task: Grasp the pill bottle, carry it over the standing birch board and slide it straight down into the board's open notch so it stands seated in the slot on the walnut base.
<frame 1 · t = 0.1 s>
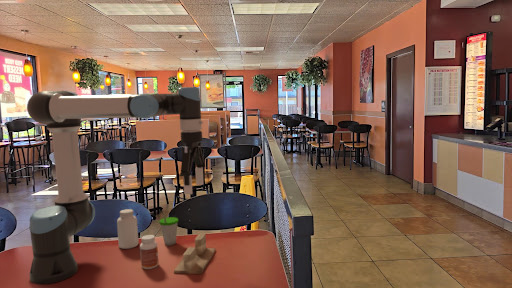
hand: (194, 189, 141), 28 cm above the table, fingers open, 13 cm apart
pill bottle: (150, 266, 143), on the table
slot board: (196, 261, 145), on the table
pill bottle 2: (128, 245, 163), on the table
cup: (170, 244, 163), on the table
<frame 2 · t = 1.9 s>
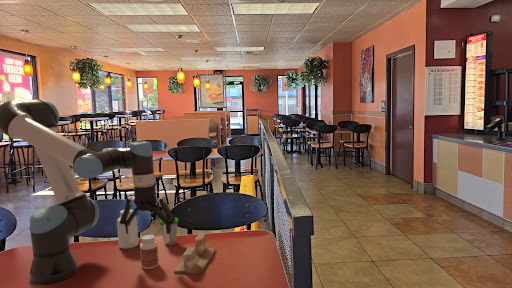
hand: (149, 242, 141), 9 cm above the table, fingers open, 13 cm apart
nothing on the table moved.
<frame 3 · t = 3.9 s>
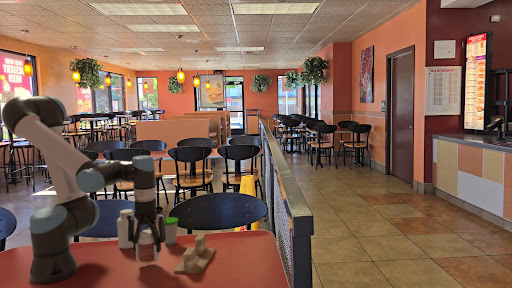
hand: (147, 259, 142), 2 cm above the table, fingers closed on pill bottle, 6 cm apart
pill bottle: (147, 261, 143), point 2 cm above the table, touching gripper
everything else where it was.
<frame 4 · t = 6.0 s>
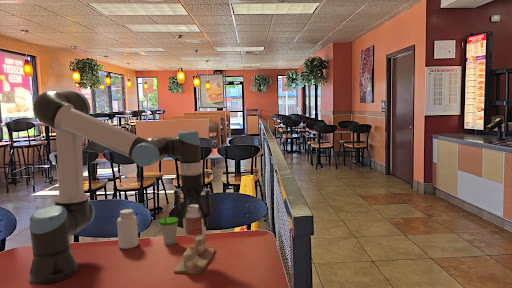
hand: (195, 234, 144), 11 cm above the table, fingers closed on pill bottle, 6 cm apart
pill bottle: (195, 235, 144), point 10 cm above the table, touching gripper
everything else where it was.
when the fingers open (2 cm above the table, at t = 7.9 s): pill bottle drops 1 cm, resting on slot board.
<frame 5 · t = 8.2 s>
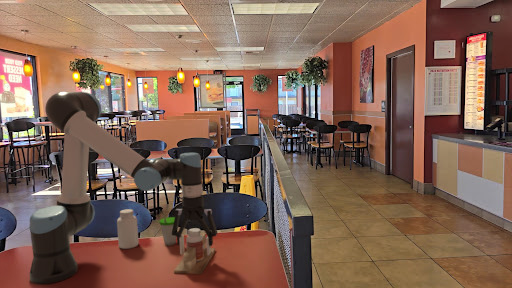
hand: (195, 253, 145), 3 cm above the table, fingers open, 9 cm apart
pill bottle: (195, 259, 145), point 1 cm above the table, touching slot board
everything else where it was.
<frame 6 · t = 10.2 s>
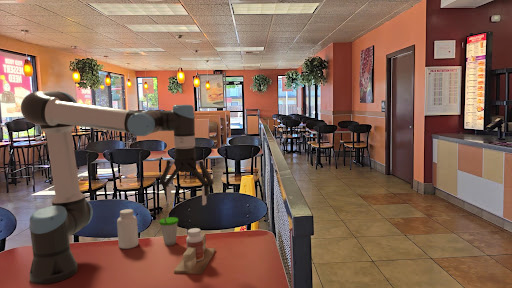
hand: (186, 203, 145), 22 cm above the table, fingers open, 13 cm apart
nothing on the table moved.
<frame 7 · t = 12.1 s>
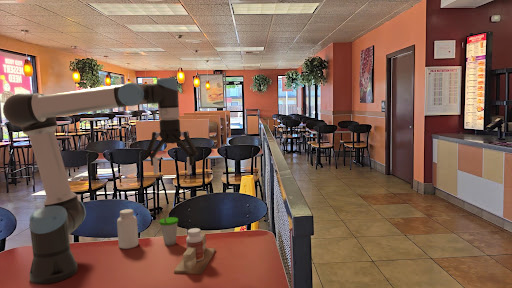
hand: (172, 173, 150), 32 cm above the table, fingers open, 13 cm apart
nothing on the table moved.
at the end: pill bottle 0.1 cm off-centre on the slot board, point 0.8 cm above the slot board's base; pill bottle tilted 0°; the gripper is holding nothing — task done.
